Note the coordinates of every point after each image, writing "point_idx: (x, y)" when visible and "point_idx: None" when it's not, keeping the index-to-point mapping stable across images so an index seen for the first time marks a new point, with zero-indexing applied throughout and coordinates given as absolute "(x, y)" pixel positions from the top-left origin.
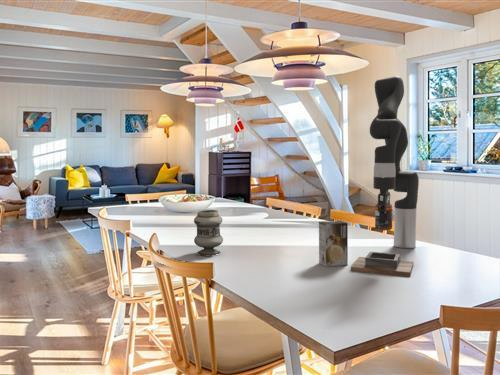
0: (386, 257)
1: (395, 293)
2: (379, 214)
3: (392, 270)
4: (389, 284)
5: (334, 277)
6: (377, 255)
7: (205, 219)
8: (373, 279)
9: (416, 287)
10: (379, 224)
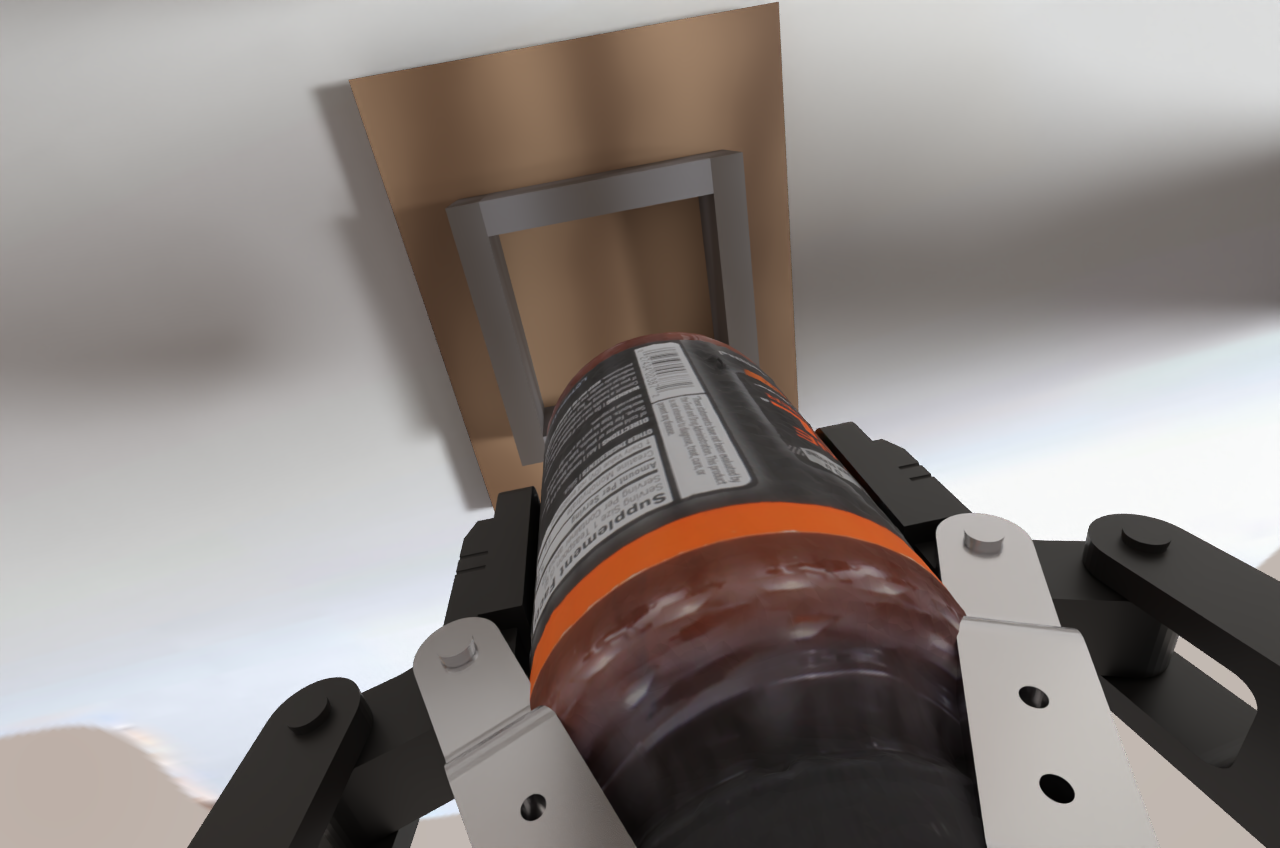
0: (718, 312)
1: (86, 545)
2: (484, 597)
3: (469, 423)
4: (235, 465)
5: (30, 26)
6: (713, 236)
7: None
8: (262, 343)
9: (303, 590)
10: (543, 464)
